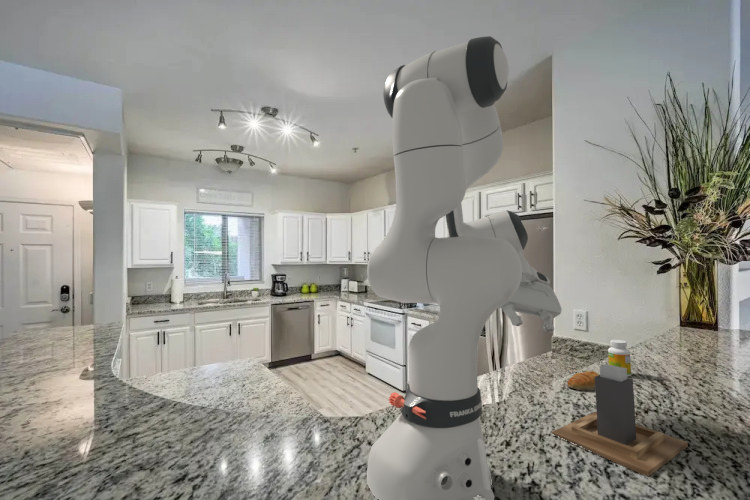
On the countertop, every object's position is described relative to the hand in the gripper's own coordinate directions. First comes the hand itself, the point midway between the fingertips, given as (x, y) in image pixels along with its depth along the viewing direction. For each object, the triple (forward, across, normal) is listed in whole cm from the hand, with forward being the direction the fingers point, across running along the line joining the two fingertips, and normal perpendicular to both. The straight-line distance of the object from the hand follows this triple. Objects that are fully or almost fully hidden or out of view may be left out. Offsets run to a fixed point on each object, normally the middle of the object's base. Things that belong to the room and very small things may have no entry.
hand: (534, 328), depth 78 cm
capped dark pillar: (+22, +10, -1) cm, 24 cm away
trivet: (+22, +10, -1) cm, 24 cm away
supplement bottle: (0, +47, +14) cm, 49 cm away
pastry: (+5, +30, +15) cm, 34 cm away
